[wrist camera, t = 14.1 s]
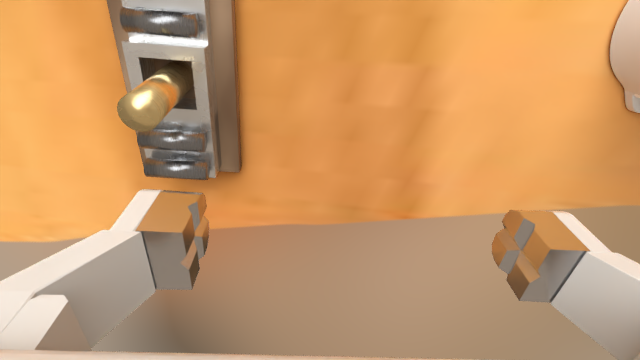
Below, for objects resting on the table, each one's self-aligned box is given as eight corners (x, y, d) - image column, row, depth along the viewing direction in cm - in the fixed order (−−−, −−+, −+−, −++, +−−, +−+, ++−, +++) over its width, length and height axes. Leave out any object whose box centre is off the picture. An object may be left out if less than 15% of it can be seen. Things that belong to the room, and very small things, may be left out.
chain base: (232, -51, 30) (228, -51, 29) (241, 165, 42) (239, 172, 40) (101, -64, 29) (92, -65, 28) (148, 160, 41) (143, 166, 40)
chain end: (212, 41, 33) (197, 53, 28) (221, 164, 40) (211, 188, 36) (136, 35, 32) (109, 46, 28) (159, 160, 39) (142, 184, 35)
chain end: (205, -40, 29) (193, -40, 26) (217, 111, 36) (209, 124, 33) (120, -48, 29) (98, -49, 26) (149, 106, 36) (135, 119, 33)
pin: (193, 61, 34) (155, 95, 25) (196, 91, 35) (162, 133, 27) (162, 58, 33) (113, 92, 25) (166, 89, 35) (122, 130, 27)
